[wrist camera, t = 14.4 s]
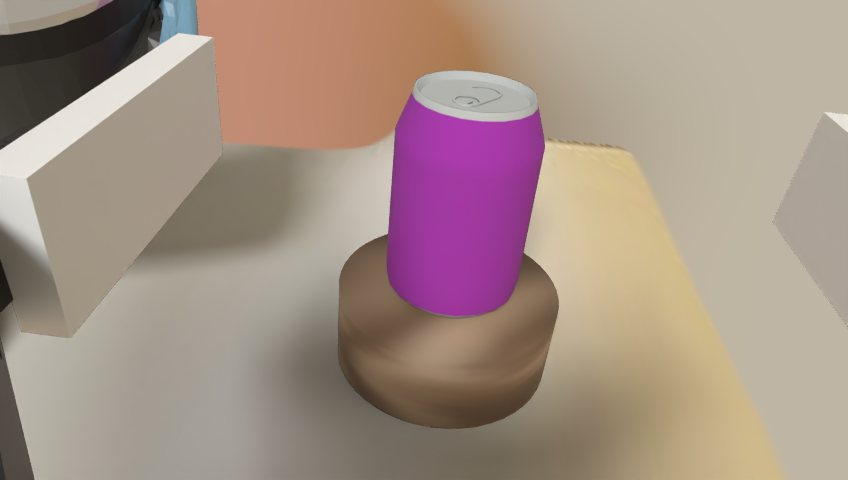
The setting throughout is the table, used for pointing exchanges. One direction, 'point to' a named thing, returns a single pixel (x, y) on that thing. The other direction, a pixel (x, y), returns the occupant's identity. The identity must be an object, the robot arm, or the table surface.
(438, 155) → the beverage can
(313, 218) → the table surface
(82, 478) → the table surface
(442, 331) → the walnut pedestal
